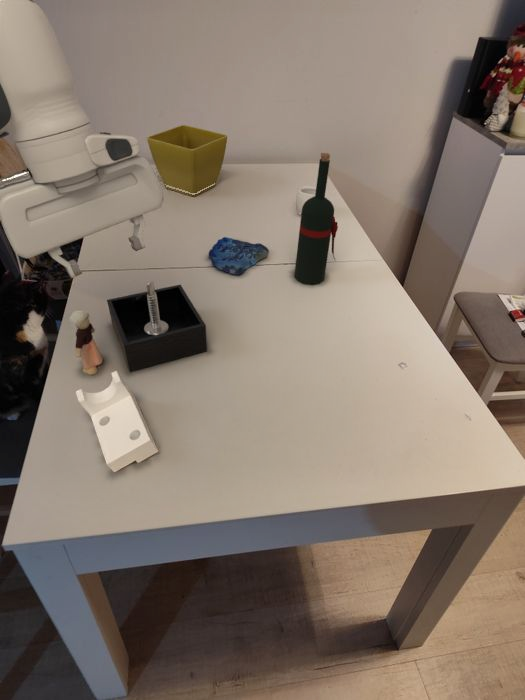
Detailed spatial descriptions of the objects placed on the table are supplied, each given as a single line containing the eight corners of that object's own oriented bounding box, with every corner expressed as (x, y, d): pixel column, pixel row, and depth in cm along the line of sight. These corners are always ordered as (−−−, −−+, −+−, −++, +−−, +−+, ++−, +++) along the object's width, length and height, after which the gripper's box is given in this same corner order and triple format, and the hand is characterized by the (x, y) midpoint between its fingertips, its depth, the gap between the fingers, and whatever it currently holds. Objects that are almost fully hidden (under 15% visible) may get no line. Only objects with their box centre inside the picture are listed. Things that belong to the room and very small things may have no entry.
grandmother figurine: (101, 377, 83) (86, 324, 75) (79, 379, 82) (62, 325, 74) (106, 351, 89) (93, 298, 80) (86, 352, 88) (71, 299, 80)
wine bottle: (336, 284, 111) (359, 160, 92) (296, 285, 110) (310, 160, 91) (329, 268, 117) (349, 148, 98) (291, 268, 116) (303, 148, 96)
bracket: (96, 417, 77) (75, 391, 72) (134, 397, 79) (116, 370, 73) (116, 475, 69) (94, 451, 63) (158, 451, 70) (140, 426, 65)
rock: (273, 252, 122) (273, 246, 120) (237, 280, 111) (237, 273, 110) (229, 238, 128) (229, 231, 126) (191, 263, 117) (190, 256, 115)
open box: (129, 372, 84) (124, 345, 80) (112, 326, 95) (106, 299, 90) (207, 351, 90) (205, 325, 85) (182, 309, 100) (180, 284, 96)
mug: (324, 219, 140) (328, 194, 135) (299, 221, 138) (301, 196, 133) (312, 203, 149) (315, 180, 144) (287, 205, 147) (290, 181, 142)
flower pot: (195, 203, 145) (192, 149, 134) (151, 189, 152) (145, 137, 141) (228, 185, 157) (228, 135, 146) (186, 173, 164) (183, 124, 153)
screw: (171, 328, 94) (166, 343, 90) (148, 327, 94) (143, 342, 90) (165, 275, 85) (160, 289, 82) (139, 274, 85) (133, 288, 81)
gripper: (-23, 188, 48) (39, 299, 55) (148, 135, 55) (181, 239, 63) (-29, 182, 52) (29, 285, 60) (130, 133, 60) (163, 230, 68)
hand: (108, 261), depth 62 cm, fingers open, 8 cm apart
